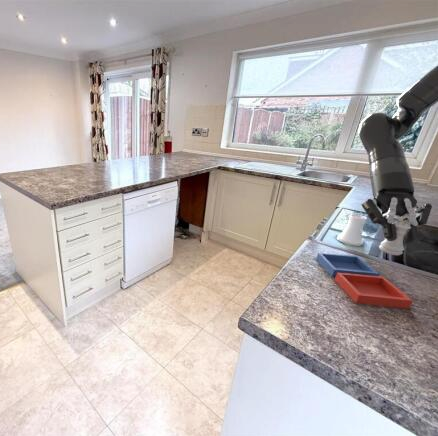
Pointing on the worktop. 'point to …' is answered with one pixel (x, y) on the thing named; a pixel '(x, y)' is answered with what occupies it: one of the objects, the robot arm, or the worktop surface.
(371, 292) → the red tray
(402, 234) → the rook chess piece
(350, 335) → the worktop surface
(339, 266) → the blue tray
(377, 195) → the robot arm
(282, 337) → the worktop surface
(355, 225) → the vase
